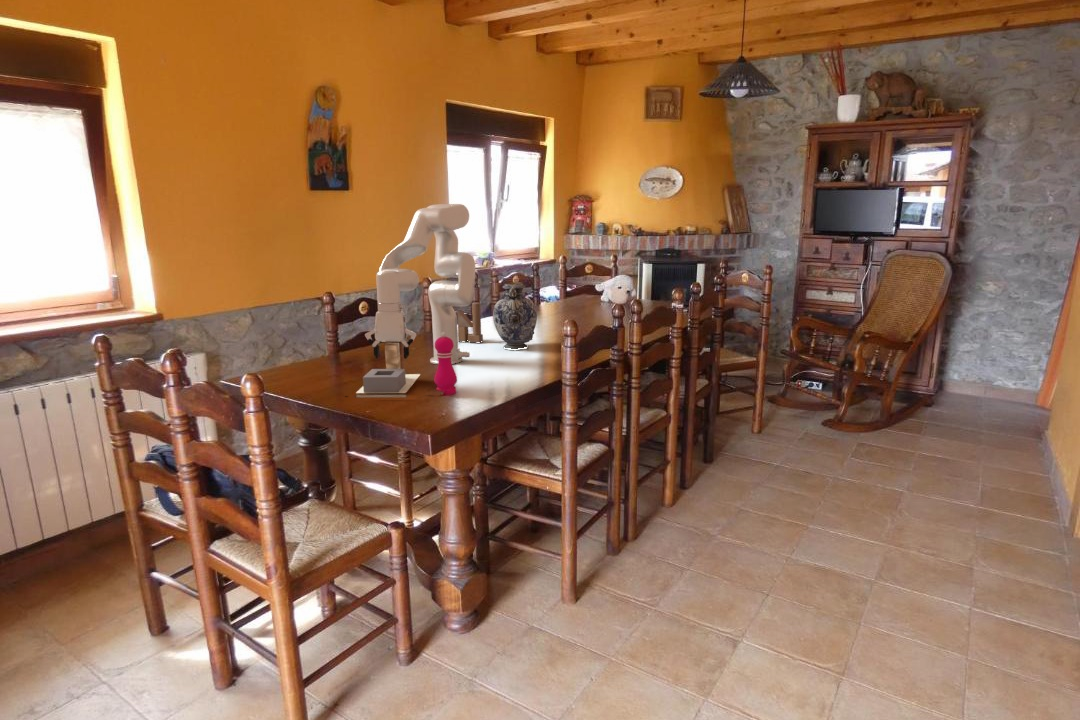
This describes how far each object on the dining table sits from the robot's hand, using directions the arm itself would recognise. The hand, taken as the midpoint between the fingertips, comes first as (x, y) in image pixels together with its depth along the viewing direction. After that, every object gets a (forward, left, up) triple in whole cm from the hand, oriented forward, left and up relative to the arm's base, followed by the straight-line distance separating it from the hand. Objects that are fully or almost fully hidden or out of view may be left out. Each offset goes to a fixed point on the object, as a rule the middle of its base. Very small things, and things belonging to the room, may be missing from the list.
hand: (391, 357), depth 219 cm
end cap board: (0, +6, -9) cm, 10 cm away
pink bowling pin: (-20, +13, -9) cm, 26 cm away
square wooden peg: (0, 0, -7) cm, 7 cm away
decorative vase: (-39, -57, -9) cm, 70 cm away
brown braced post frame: (-18, -71, -9) cm, 74 cm away
